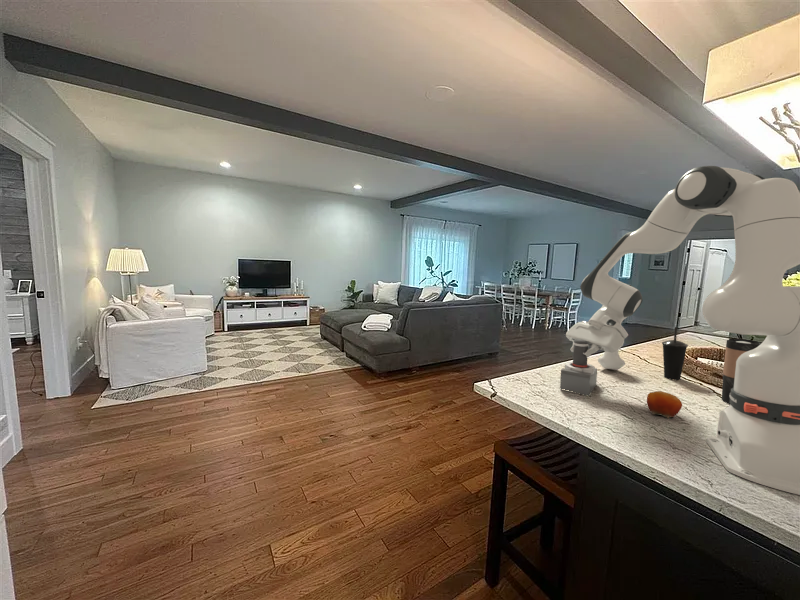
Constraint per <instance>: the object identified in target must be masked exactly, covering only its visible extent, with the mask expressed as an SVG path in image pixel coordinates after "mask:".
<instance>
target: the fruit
mask: <svg viewBox="0 0 800 600" xmlns="http://www.w3.org/2000/svg"><path fill="white" fill-rule="evenodd" d="M646 406H647V407H648V411H649V412H650V413H651V414H652V416H655V415H658V416H659V415H660V416H663V417H665V418H667V419H668V420H670V418H674V417H675V416H677V415H678V413H680V411H681V410H682V408H683V404H682V401H681V399H680V398H679V397H677V396H676V395H674V394H671V393H669V392H665V391H662V390H657V391H652V392H649V393H648V394H647V396H646Z"/></svg>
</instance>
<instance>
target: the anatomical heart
mask: <svg viewBox="0 0 800 600" xmlns="http://www.w3.org/2000/svg"><path fill="white" fill-rule="evenodd" d="M624 344H625V341H624V342H623V343H622V345H621V346H620V347H619V349H618V350H617V351H615V352H613V353H610V352H607V351H604V352H603V354H602V355H600V356H599V357H598V358H597V362H598V363H599V365H600V366H601V367H602V368H603V369H608V370H614V371H615V370H616V371H618V370H621V368H622V367H623V368H624V366H625V365H626V362H625V360H623V358H622V357H620V354H619V350H620V349H621V348H622V347H623V345H624Z"/></svg>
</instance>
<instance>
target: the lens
mask: <svg viewBox="0 0 800 600" xmlns="http://www.w3.org/2000/svg"><path fill="white" fill-rule="evenodd" d="M573 345H574V348H573V352H572V362H573V363H572V365H573V367H578V368H587V364H588V357H586V356H584V355H583V352H584V351H585V350H588V349H589V346H588V341H585V340H582V339H575V340H574V342H573V341H572V346H573Z"/></svg>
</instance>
